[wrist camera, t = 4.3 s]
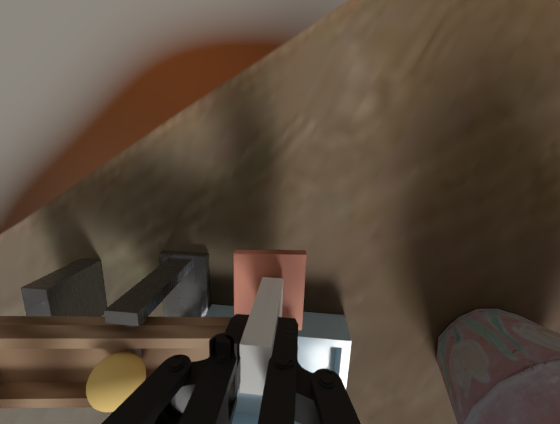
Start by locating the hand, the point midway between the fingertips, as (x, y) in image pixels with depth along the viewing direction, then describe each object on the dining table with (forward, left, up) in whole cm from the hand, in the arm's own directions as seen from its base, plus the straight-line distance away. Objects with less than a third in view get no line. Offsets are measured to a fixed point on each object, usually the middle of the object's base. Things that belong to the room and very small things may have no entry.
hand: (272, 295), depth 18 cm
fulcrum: (-10, -6, -9) cm, 15 cm away
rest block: (-21, -6, -9) cm, 24 cm away
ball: (-10, -6, +2) cm, 12 cm away
